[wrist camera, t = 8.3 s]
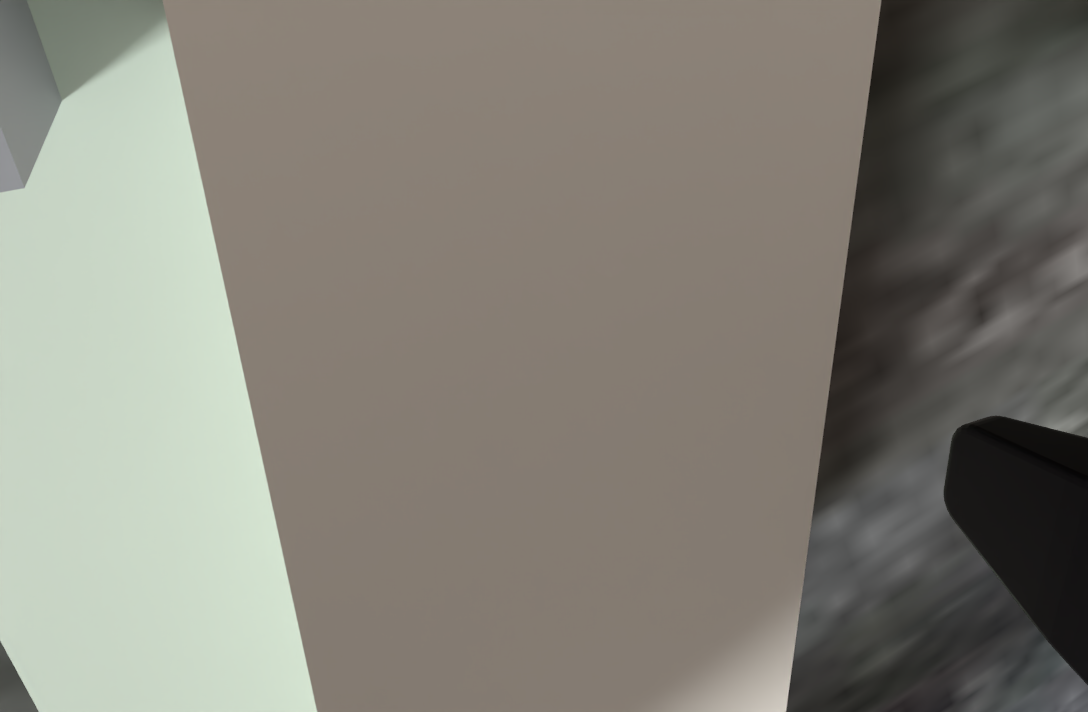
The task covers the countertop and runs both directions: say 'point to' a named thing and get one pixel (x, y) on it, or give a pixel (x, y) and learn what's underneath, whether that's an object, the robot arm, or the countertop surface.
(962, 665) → the countertop surface
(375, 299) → the block
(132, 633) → the bracket board
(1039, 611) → the robot arm
